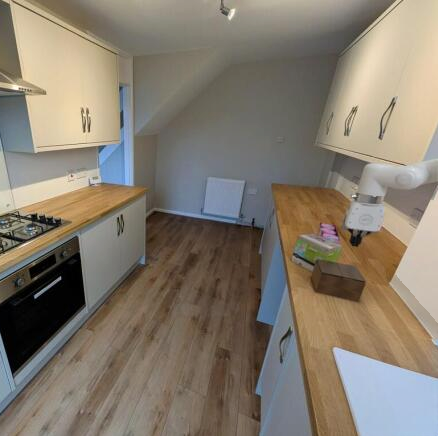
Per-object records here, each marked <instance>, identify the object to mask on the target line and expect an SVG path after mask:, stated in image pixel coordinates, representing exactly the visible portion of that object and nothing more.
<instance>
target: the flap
mask: <svg viewBox="0 0 438 436" xmlns="http://www.w3.org/2000/svg"><path fill="white" fill-rule="evenodd" d="M336 264H337V266H338V268H339V270H340V271H341V273H342V275H343V277H344V278H349V279H354V280H359V281H364V282H366V283H367V280H366V279H365V277H364V276H363V274H362V273H361V271H360V270H359V269H358V267H357V266H356V265H352V264H348V263H347V264H345V263H340V262H337V263H336Z"/></svg>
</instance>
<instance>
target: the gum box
mask: <svg viewBox="0 0 438 436" xmlns="http://www.w3.org/2000/svg"><path fill="white" fill-rule="evenodd" d="M316 235H317V236H320V237H322V238H325V239H327V240H329V241H332V242H334V243H337V244H339V245H340V243H341V237H340V235H339V231H338V228H337V225H336V224H332V225H331V224H327V223H323V222H319V225H318V227H317V231H316Z"/></svg>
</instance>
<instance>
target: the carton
mask: <svg viewBox="0 0 438 436" xmlns="http://www.w3.org/2000/svg"><path fill="white" fill-rule="evenodd" d="M310 278H311V281H312V284H313V288H314V290H315V293H318V294H322V295H327V296H330V297H334V298H340V299H343V300H347V301H352V302H356V303H359V302H360V299H361V296H362V294H363V291H364V289H365V286H366V283H367V281H366V282H364V281H359V280H354V279H349V278H344V277H343V275H342V273H341V271H340V270H339V268H338V266H337V264H336V262H331V261H326V260H321V259H317V260H316V262H315V265H314V269H313V272H311V276H310Z"/></svg>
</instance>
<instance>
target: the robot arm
mask: <svg viewBox="0 0 438 436" xmlns="http://www.w3.org/2000/svg"><path fill="white" fill-rule="evenodd" d="M358 183H359V184H358V187H357V190H356V192H355V193H352V194H350V199H353V200H351V202H350V203H349V205H348V207H347V209H346V211H345V214H344V216H343V220H342V224H341V226H340V228H341V229H342V230H343V231H347V232H349V233H350V239H349V244H350V245H351V246H352V247H355V248H359V245H361V244H362V241H363V238H365V237H367V236H368V235H374V234H379V231H380V230H381V229H382V226H383V223H384V218H385V214H386V213H385V211H386V205H385V204H384V200H385V197H386V194H387V191H388V189H389V188H391V189H395V190H401V191H408V190H409V191H410V190H414V189H416V188H418V187H420V186H423V185H428V184H434V183H438V157H437V158H432V159H428V160H423V161H419V162H415V163H411V164H406V165H398V166H397V165H395V166H394V165H392V164H388V163H381V162H380V163H379V162H377V163H376V162H372V163H367V164H366V165H364V167H363V170H362V173H361V177H360V180H359V182H358ZM357 230H360V231H359V232H357Z"/></svg>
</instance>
